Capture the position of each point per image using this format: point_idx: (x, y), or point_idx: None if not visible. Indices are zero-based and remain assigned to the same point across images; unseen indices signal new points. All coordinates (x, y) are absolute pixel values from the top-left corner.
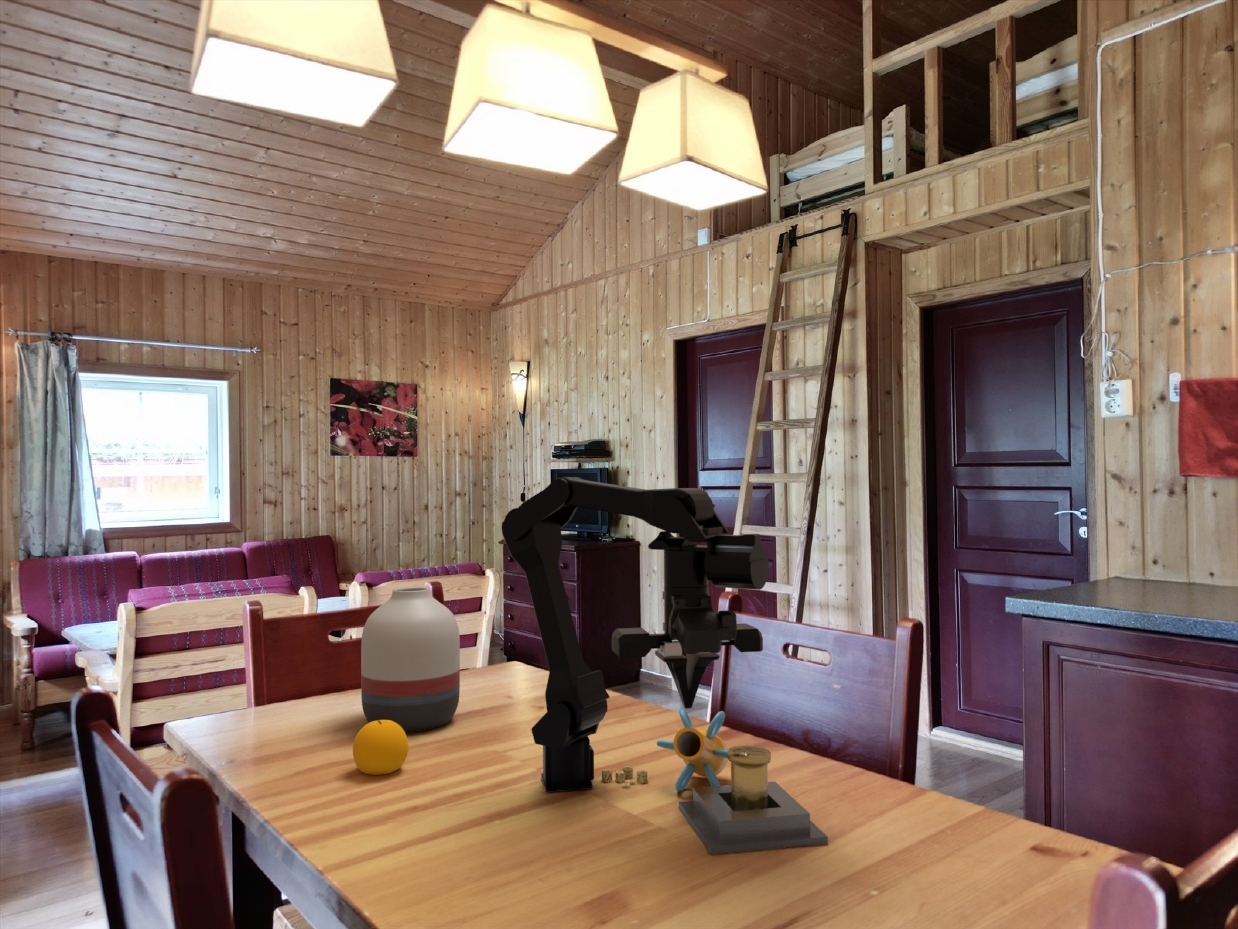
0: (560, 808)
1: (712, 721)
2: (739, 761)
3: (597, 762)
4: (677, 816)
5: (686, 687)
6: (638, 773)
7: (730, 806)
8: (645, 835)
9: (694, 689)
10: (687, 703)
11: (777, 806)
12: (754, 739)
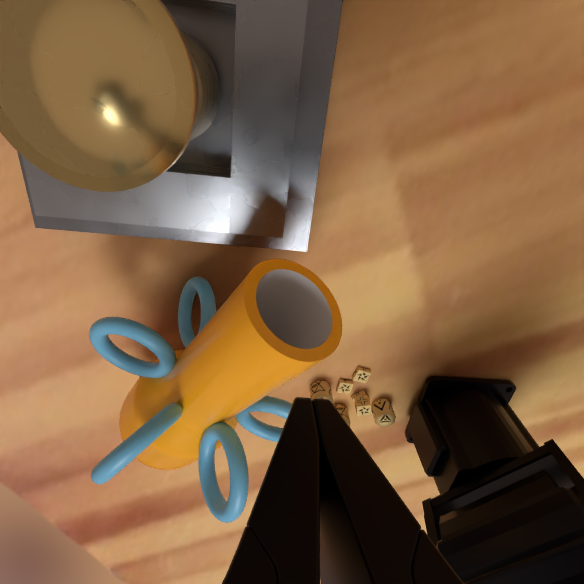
0: (527, 313)
1: (153, 436)
2: (163, 7)
3: None
4: (326, 204)
5: (354, 503)
6: (331, 398)
7: (199, 166)
8: (448, 118)
9: (289, 483)
10: (324, 414)
11: None
12: (38, 506)
